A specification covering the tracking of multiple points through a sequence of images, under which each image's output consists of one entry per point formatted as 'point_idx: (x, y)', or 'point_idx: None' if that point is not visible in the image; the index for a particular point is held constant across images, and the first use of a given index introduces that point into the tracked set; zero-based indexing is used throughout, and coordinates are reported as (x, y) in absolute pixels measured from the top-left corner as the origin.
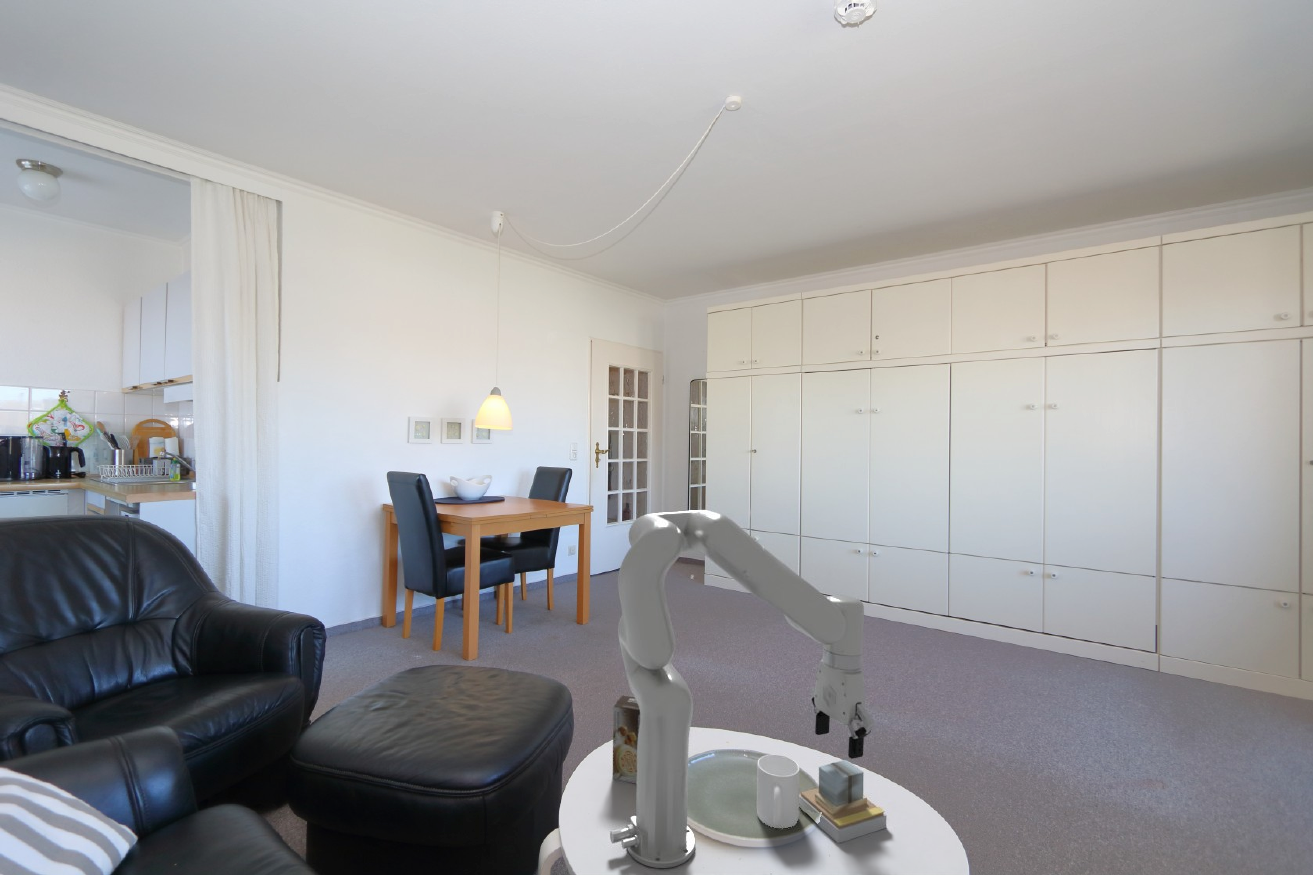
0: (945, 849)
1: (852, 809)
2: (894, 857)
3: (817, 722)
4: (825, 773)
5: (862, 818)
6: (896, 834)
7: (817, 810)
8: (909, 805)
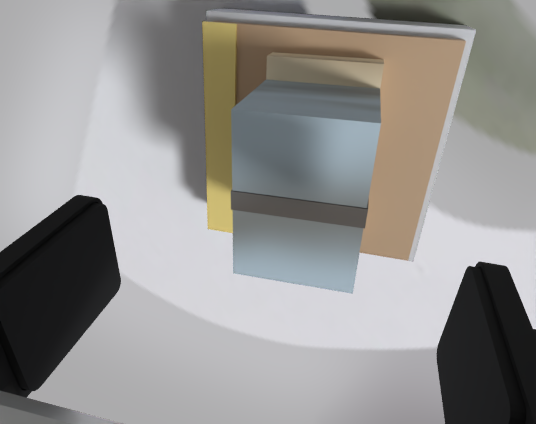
0: None
1: None
2: (120, 123)
3: (508, 348)
4: (323, 115)
5: (205, 137)
6: (192, 208)
7: (339, 28)
8: (269, 331)
